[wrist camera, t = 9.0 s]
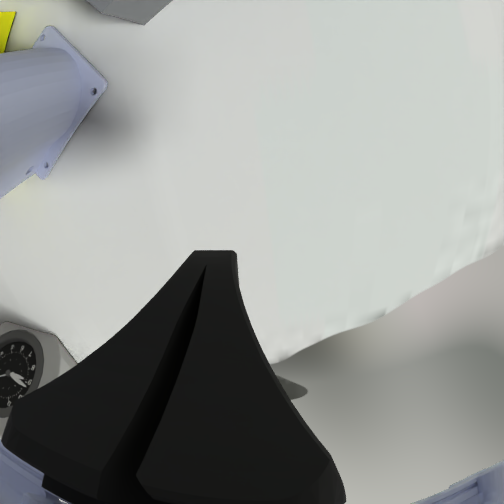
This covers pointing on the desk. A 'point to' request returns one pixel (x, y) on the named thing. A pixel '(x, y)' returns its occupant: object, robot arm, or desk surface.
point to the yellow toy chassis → (5, 28)
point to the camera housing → (130, 8)
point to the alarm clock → (27, 364)
